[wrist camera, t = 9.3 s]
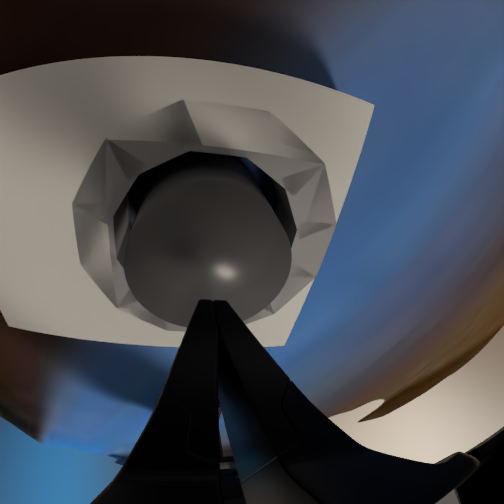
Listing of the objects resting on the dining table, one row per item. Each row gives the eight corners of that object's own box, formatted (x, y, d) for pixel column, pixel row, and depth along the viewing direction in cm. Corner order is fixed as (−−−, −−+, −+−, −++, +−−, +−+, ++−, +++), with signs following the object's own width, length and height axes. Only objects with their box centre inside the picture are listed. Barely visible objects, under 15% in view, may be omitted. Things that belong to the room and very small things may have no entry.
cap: (248, 262, 16) (268, 328, 12) (142, 255, 14) (130, 324, 10) (273, 161, 13) (313, 204, 9) (146, 146, 11) (121, 184, 7)
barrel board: (273, 311, 19) (285, 345, 16) (23, 294, 14) (8, 326, 12) (340, 97, 11) (375, 105, 9) (-8, 82, 7) (-44, 91, 4)
